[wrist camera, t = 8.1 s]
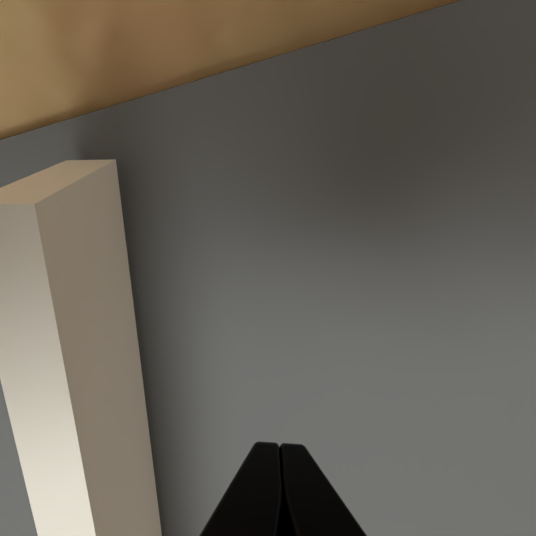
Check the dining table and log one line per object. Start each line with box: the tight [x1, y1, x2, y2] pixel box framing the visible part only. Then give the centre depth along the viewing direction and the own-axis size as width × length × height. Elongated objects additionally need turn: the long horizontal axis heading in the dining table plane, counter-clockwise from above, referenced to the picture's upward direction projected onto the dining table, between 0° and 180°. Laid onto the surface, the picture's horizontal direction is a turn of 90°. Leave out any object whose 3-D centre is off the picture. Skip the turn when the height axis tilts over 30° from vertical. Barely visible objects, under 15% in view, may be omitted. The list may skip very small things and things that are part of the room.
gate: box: [0, 159, 162, 536], centre depth 13 cm, size 18×2×5 cm, turn 1°
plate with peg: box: [0, 0, 536, 536], centre depth 14 cm, size 23×23×6 cm
